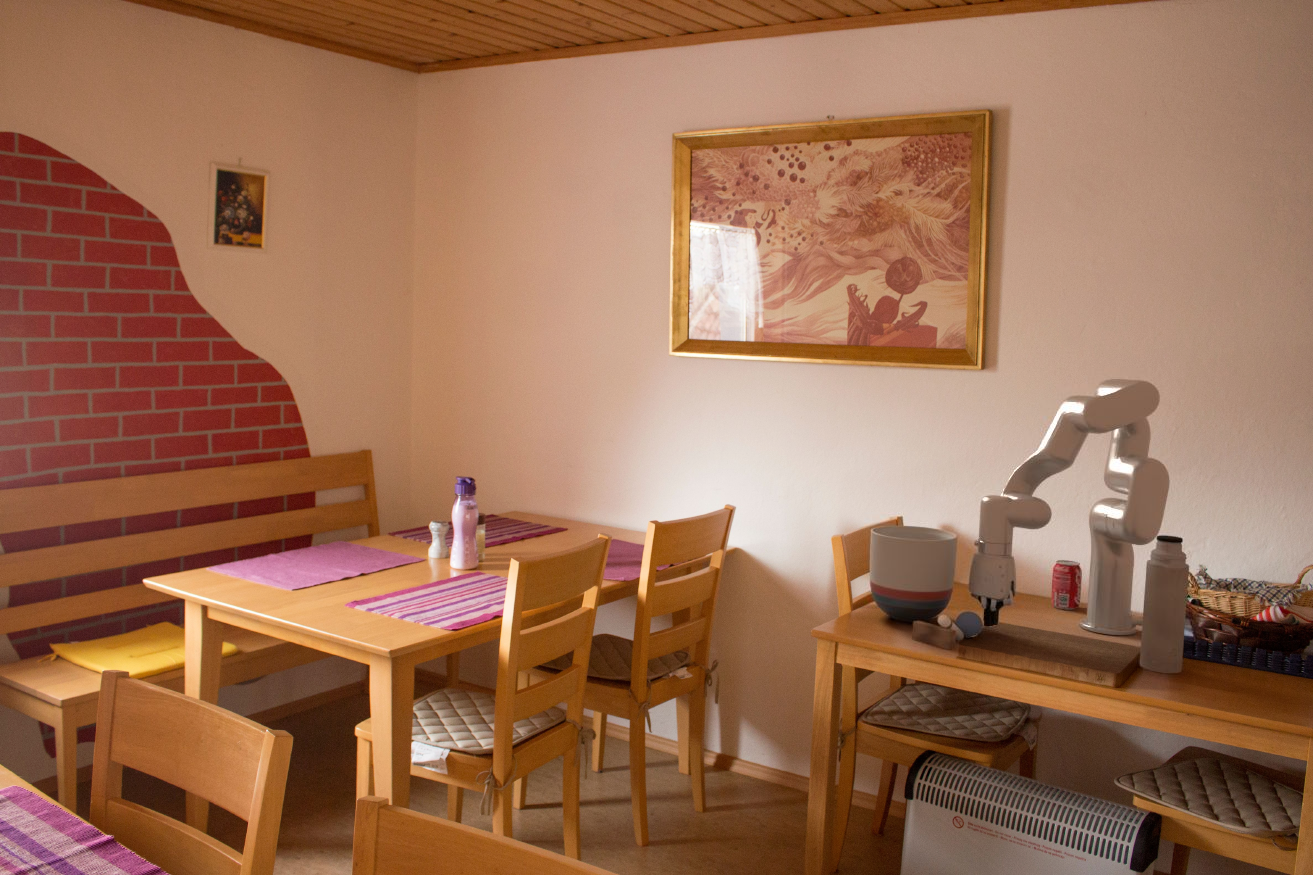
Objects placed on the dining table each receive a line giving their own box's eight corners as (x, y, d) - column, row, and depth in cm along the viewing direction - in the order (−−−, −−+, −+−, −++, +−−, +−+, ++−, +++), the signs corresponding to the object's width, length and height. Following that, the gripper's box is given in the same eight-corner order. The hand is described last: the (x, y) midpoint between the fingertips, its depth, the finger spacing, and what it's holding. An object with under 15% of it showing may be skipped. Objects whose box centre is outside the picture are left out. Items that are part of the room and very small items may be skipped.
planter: (864, 606, 261) (868, 523, 259) (946, 611, 258) (951, 528, 256) (869, 627, 241) (873, 537, 239) (958, 633, 238) (963, 542, 236)
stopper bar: (912, 638, 232) (913, 621, 231) (917, 637, 233) (918, 620, 233) (949, 649, 224) (950, 631, 224) (954, 648, 225) (955, 630, 225)
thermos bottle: (1147, 659, 221) (1157, 531, 219) (1187, 668, 215) (1197, 537, 213) (1133, 666, 215) (1142, 535, 213) (1173, 675, 210) (1183, 541, 208)
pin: (963, 629, 232) (948, 613, 227) (964, 639, 231) (948, 623, 225) (953, 631, 233) (937, 615, 228) (953, 641, 232) (937, 625, 227)
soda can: (1074, 605, 269) (1077, 560, 269) (1083, 611, 262) (1086, 565, 262) (1047, 603, 270) (1050, 558, 269) (1054, 610, 263) (1057, 564, 262)
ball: (961, 623, 230) (965, 646, 232) (985, 614, 231) (989, 637, 233) (948, 612, 236) (953, 634, 238) (972, 603, 236) (976, 625, 238)
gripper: (958, 544, 242) (953, 621, 243) (1014, 555, 230) (1009, 635, 231) (976, 542, 246) (972, 616, 248) (1033, 552, 235) (1028, 630, 236)
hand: (990, 625), depth 240 cm, fingers closed
